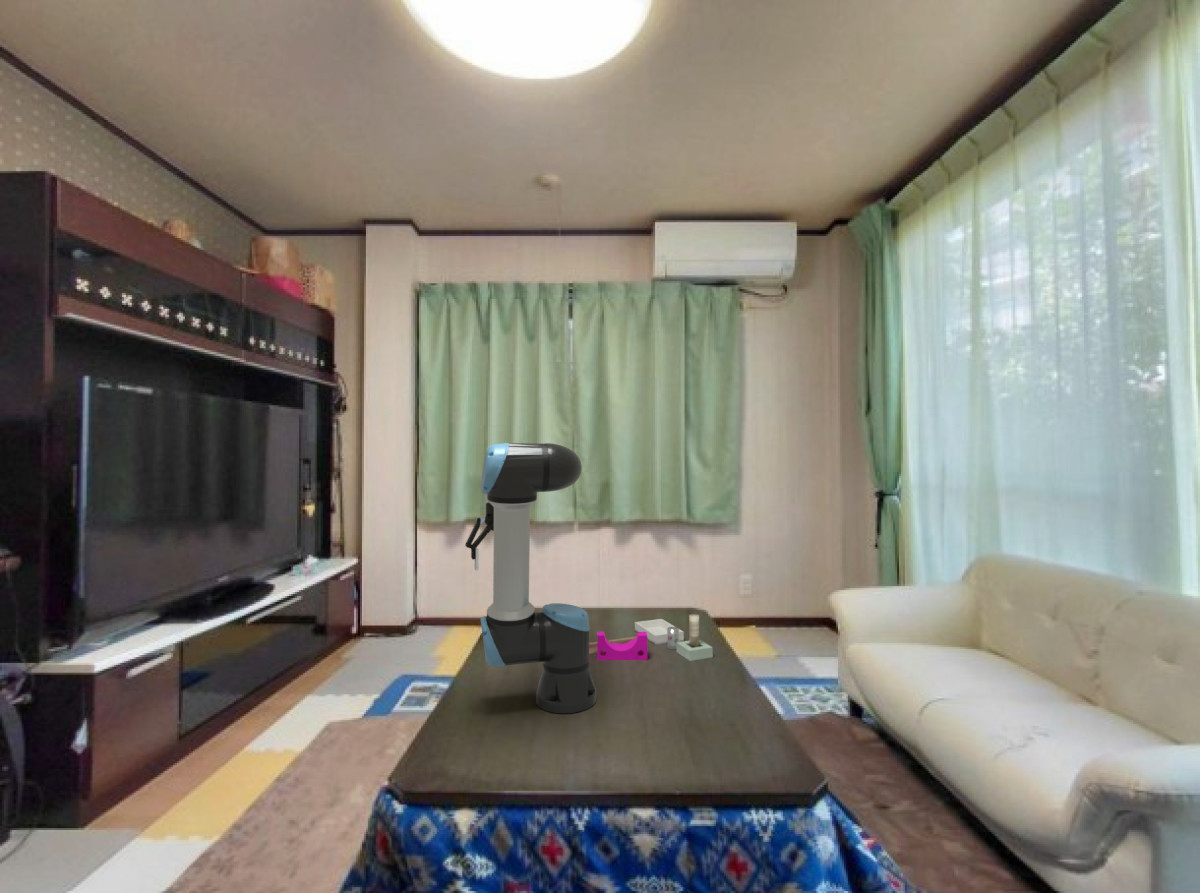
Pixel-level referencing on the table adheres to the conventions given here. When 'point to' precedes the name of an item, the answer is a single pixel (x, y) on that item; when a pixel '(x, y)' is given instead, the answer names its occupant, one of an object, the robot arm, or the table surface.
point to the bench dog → (672, 637)
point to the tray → (656, 630)
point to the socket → (694, 650)
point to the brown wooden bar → (619, 641)
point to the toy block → (622, 648)
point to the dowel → (693, 630)
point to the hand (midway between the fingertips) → (497, 567)
